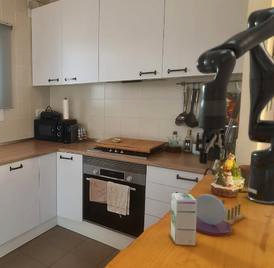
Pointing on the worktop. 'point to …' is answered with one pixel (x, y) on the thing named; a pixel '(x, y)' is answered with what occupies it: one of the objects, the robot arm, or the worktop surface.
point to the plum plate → (213, 228)
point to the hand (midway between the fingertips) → (209, 161)
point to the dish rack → (233, 214)
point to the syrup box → (183, 218)
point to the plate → (210, 209)
